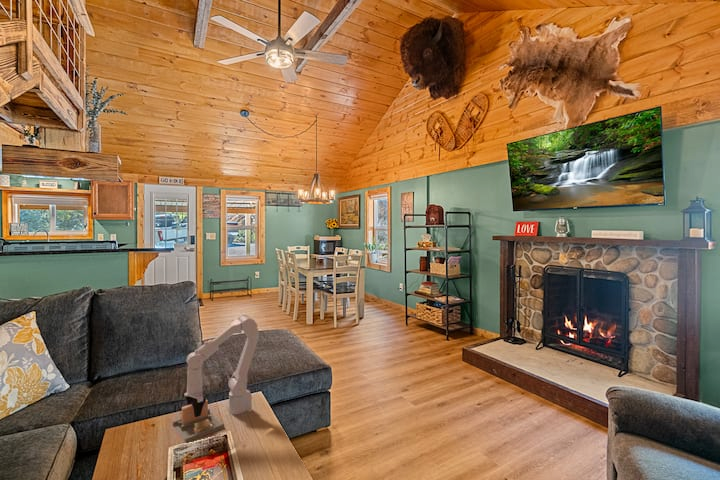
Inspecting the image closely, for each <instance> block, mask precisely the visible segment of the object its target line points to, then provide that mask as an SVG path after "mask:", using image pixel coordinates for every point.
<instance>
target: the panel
mask: <svg viewBox="0 0 720 480" xmlns="http://www.w3.org/2000/svg"><path fill="white" fill-rule="evenodd" d="M208 409H209V400H208V399H206V402H205V403H204V405H203V408H202V412H201V415H200V416H198V417H195V415H194V409H193V406H192V404H190V405H188V404H187V405H185V406H181V418H182V425H184V424H187V423H189V422H192V421H195V420H198V419H200V418H203V417H206V416H208Z"/></svg>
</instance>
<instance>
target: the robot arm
mask: <svg viewBox="0 0 720 480" xmlns="http://www.w3.org/2000/svg"><path fill="white" fill-rule="evenodd" d="M243 332H244V334H245V336H246V339H245V342H244V345H243V349H242V351H241V354H240V357H239V360H238V364H237V365H236V366H237V367H236V370H235V371H234V372H233V374H232V375H231V377H230V378H229V380H228V382H227V386H228V388H229V389H230V390H229V393H228V412H229V414H231V415H240V414H242V413H244V412H246V411H247V412H248V413H252V412H253V409H252V407H253V404H252V403H253V402H252V400H253V399H252V398H253V397H252V394H251V391H250V390H249V389H247V388H248V372H249V369H250V367H251V366H250V365H251V363H252V360H253V357H254V354H255V351H256V347H257V344H258V341H259V339H260V333H259V328H258V323H257V322H256V321H255V320H254V319H253V318H251V317H249V315H247V314H241V315H240V316H238V318H235V319H234V320H233V321H232V323H231V324H229V325H228V326H227V327H226V328H225V329H224V330H223V331H222V332H220V333H219V334H218V335H217V336H216V337H215V338H214V339H209V340H205V341H204V342H203V344H202V345H201V346H199V348H198V349H195V350H193V351H194V352H193V351H192V352H190V353H189V354H188V355H187V356H186V359H185V362H186V364H187V372H186V375H187V376H186V378H187V379H186V383H187V384H186V385H187V386H186V392H184V393H183V396H184V399H185V401H186V404H187V405H190V404H192V406H193V409H194V415H195V417H198V416H200V415H201V412H202V408H203V405H204V403H205V402H206V400H207V398H205V397H204V396H203V369H202V366H203V365H204V361H206V360H207V359H208V358H210V356H212V355H213V354H214V353H216V351H218V350H219V346H220V345H221V344H222V343H224V342H225V341H226V340H228V339H229V338H231V337H232V336H233V335H234V334H242V333H243Z"/></svg>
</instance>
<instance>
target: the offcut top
mask: <svg viewBox="0 0 720 480" xmlns="http://www.w3.org/2000/svg"><path fill="white" fill-rule="evenodd" d="M207 427H210V422H209V420H208V419H207V420H204V421H201V422H197V423H195V429H196V431H198V430H201V429H204V428H207Z"/></svg>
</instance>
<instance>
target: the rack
mask: <svg viewBox="0 0 720 480" xmlns="http://www.w3.org/2000/svg"><path fill="white" fill-rule="evenodd" d="M207 419H208V420H209V422H210V423H211V424H212V425H213V427H211V428H209V429H206V430H204V431H201V432H199V433H195V432H194V428H195V423H197V422H201V421H204V420H207ZM172 426H173V428H174V429H175V431H176V432H177V433H178V435H179V436H180V437H181V438H182V440H183V442H184V443H185V444H187V443H189V442H191V441H194V440H196V439H199V438H202V437H204V436H206V435H209V434H211V433H214V432H216V431H220V430H221V429H224V428H225V423H223V422H222V423H221V422H220V421H219V420H217V418H216V417H214V415H213V414H212V412H211V409H210V408H208V416H206V417H203V418H200V419H198V420H195V421H192V422H189V423H187V424H184V425H182V417H180V418H178V419H175V420H173V421H172ZM186 442H187V443H186Z"/></svg>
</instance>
